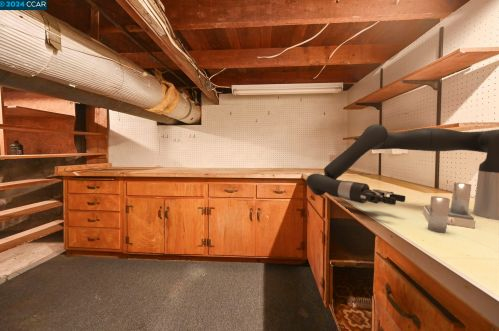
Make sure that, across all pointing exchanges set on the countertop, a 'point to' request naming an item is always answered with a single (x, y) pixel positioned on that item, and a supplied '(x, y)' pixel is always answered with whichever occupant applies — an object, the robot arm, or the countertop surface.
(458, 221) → the scale
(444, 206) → the cylinder
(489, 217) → the robot arm
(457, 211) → the cylinder
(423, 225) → the countertop surface
